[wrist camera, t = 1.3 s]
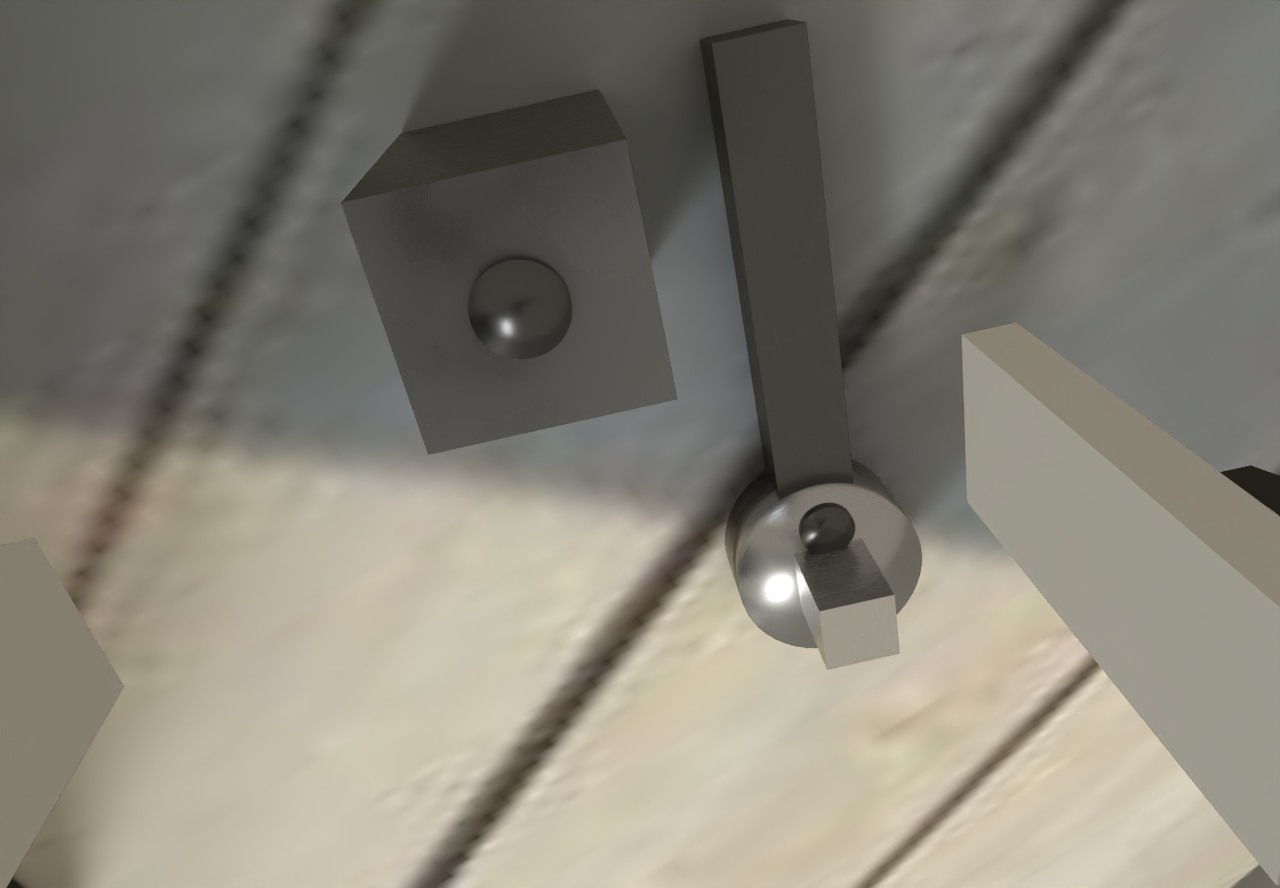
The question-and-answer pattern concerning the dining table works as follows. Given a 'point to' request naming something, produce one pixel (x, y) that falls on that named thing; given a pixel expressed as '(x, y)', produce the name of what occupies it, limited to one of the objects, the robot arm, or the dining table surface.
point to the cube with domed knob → (513, 272)
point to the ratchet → (798, 372)
